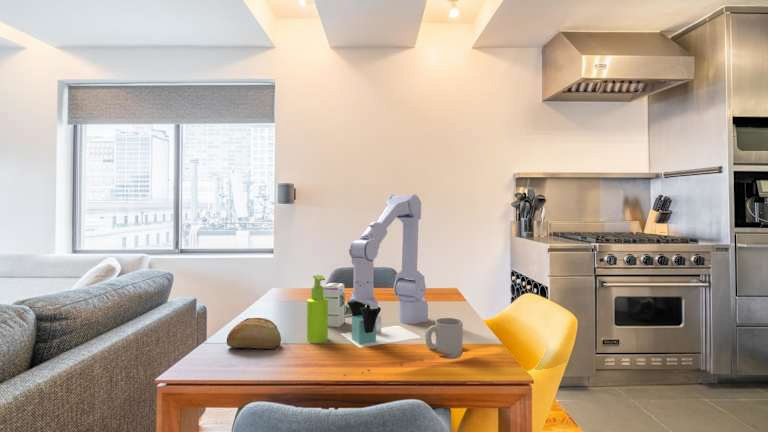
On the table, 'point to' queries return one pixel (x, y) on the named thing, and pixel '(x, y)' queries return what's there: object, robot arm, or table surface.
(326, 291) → the syrup box
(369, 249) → the robot arm
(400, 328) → the post board
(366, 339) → the teal rectangular block
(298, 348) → the table surface
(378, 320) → the steel post
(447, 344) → the cup
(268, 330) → the bread roll
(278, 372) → the table surface
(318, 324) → the soap dispenser
